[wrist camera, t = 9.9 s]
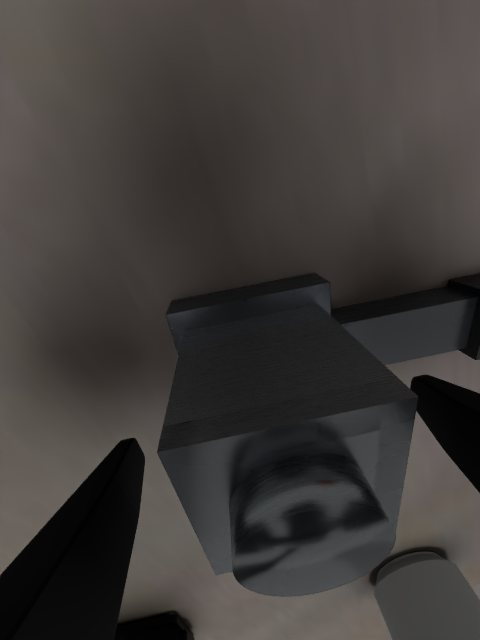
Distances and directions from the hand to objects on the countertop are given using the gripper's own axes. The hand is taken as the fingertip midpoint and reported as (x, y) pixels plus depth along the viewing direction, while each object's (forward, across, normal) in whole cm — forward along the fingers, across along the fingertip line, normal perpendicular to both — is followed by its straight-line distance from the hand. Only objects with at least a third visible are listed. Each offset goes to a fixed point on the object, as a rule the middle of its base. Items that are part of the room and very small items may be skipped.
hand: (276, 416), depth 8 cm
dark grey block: (+2, 0, 0) cm, 3 cm away
